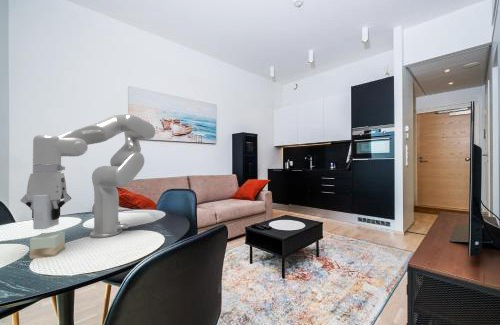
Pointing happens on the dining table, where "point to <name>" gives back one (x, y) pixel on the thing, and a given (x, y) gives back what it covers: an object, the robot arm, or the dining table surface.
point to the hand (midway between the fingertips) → (46, 219)
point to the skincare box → (43, 212)
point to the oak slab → (47, 251)
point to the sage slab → (47, 240)
